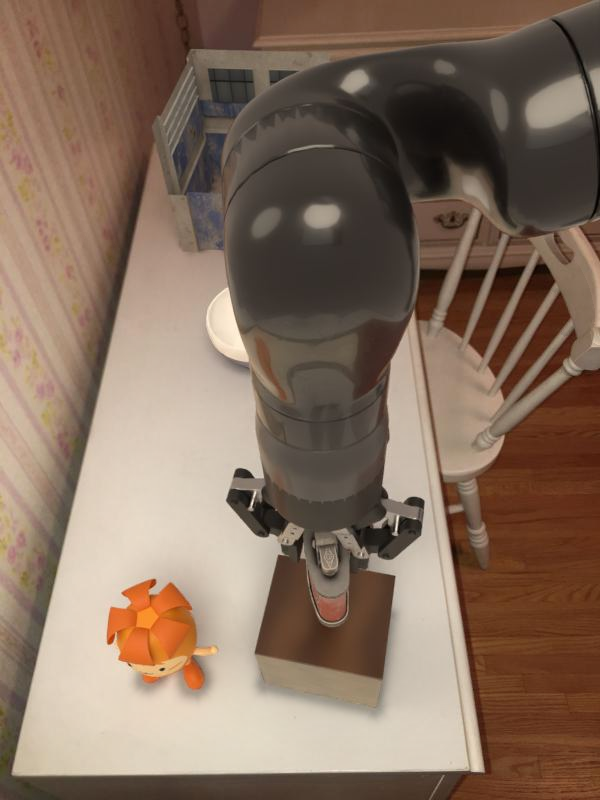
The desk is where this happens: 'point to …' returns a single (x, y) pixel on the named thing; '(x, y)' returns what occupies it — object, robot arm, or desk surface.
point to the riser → (325, 636)
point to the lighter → (327, 576)
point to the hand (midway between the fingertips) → (326, 556)
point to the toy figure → (157, 634)
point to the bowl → (225, 329)
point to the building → (211, 130)
